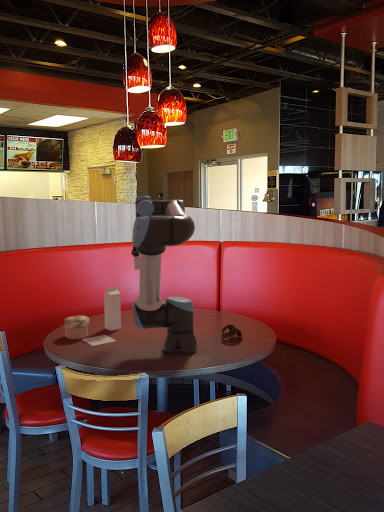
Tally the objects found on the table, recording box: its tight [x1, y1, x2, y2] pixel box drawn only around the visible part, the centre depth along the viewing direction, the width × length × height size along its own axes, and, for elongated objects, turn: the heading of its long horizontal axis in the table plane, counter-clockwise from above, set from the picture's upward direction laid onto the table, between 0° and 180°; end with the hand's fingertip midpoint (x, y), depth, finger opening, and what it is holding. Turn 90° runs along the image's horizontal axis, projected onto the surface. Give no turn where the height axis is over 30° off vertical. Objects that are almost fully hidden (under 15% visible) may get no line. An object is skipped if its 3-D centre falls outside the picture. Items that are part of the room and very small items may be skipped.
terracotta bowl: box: [64, 326, 89, 340], centre depth 229 cm, size 10×10×6 cm
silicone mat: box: [81, 334, 117, 347], centre depth 222 cm, size 12×12×1 cm
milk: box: [103, 285, 122, 332], centre depth 240 cm, size 6×6×22 cm
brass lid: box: [64, 315, 90, 329], centre depth 228 cm, size 12×12×4 cm
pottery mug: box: [221, 323, 244, 341], centre depth 225 cm, size 12×10×8 cm
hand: (144, 271), depth 231 cm, fingers open, 13 cm apart
